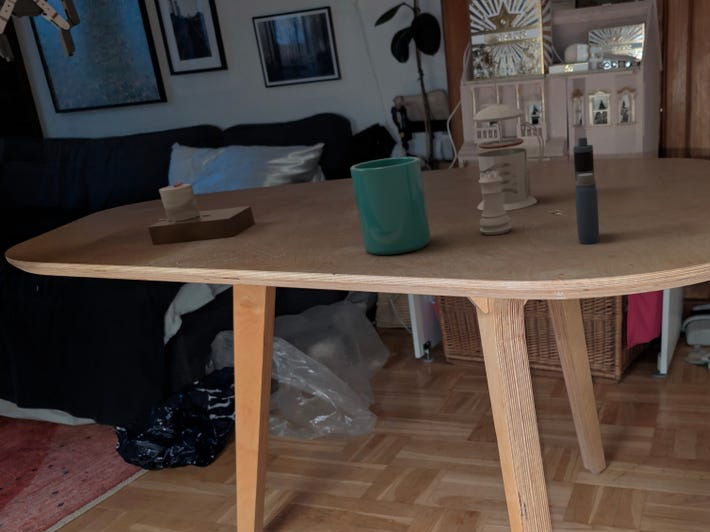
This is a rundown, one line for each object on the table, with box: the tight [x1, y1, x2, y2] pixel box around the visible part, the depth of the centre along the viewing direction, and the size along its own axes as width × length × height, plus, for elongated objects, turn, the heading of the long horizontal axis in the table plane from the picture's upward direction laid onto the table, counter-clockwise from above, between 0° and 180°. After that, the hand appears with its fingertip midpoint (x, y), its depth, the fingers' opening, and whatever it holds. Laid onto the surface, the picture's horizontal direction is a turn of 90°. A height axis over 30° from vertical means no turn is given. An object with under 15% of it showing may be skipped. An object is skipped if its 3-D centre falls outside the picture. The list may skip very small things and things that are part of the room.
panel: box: [147, 205, 255, 246], centre depth 120 cm, size 15×10×3 cm
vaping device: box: [572, 137, 600, 245], centre depth 85 cm, size 3×5×12 cm, turn 175°
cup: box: [349, 156, 431, 256], centre depth 94 cm, size 9×12×11 cm
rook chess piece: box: [478, 171, 512, 236], centre depth 96 cm, size 4×4×8 cm
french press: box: [471, 35, 545, 211], centre depth 108 cm, size 10×12×25 cm
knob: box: [158, 182, 200, 221], centre depth 118 cm, size 5×5×6 cm
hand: (41, 58), depth 112 cm, fingers open, 8 cm apart
